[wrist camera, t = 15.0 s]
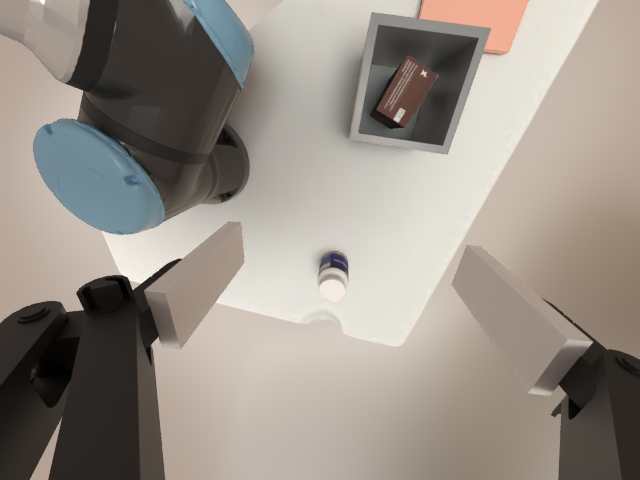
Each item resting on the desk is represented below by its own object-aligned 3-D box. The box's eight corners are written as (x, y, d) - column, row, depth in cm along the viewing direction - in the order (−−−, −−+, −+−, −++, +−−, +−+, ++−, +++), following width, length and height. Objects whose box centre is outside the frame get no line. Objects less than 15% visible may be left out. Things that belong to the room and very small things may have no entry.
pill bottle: (353, 263, 49) (355, 292, 40) (334, 278, 51) (331, 309, 42) (334, 245, 48) (332, 271, 39) (315, 261, 50) (308, 290, 41)
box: (389, 76, 35) (408, 51, 24) (413, 92, 36) (443, 75, 25) (366, 116, 38) (375, 109, 27) (390, 130, 38) (407, 130, 28)
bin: (348, 137, 39) (349, 139, 27) (362, 55, 35) (371, 12, 22) (414, 147, 39) (447, 154, 26) (437, 66, 34) (491, 28, 22)
